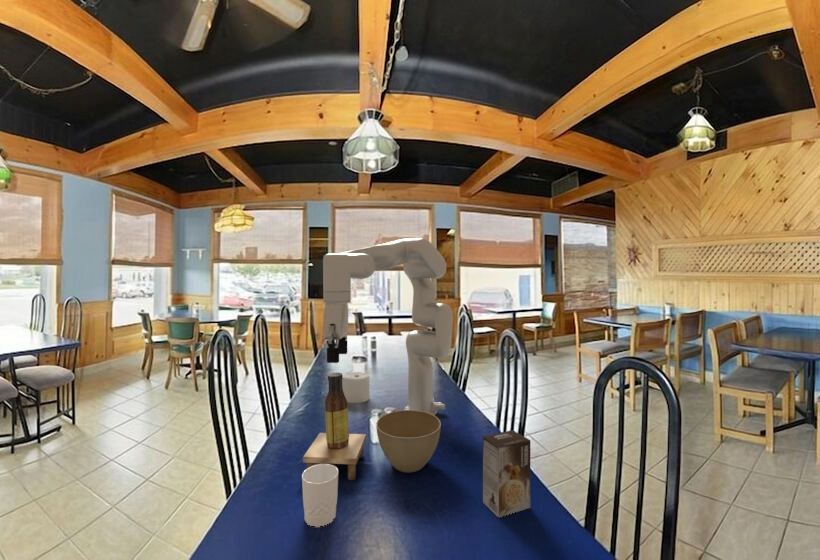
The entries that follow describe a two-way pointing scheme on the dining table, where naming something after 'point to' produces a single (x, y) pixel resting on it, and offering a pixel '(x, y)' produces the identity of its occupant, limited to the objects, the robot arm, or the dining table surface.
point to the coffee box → (506, 473)
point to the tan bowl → (408, 438)
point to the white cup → (320, 494)
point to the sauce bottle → (336, 413)
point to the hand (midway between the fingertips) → (337, 357)
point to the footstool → (336, 453)
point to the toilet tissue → (356, 387)
